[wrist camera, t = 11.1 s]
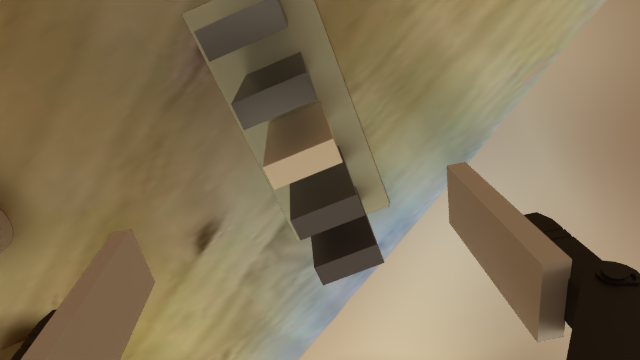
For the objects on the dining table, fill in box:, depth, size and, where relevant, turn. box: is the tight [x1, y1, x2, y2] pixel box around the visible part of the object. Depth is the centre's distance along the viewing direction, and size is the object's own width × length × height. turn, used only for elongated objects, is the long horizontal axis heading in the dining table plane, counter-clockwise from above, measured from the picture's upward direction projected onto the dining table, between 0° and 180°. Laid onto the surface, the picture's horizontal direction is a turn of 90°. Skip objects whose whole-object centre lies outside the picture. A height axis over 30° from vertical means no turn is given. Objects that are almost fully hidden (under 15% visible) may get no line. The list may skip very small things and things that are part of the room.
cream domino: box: [263, 102, 343, 190], centre depth 31 cm, size 2×5×10 cm, turn 112°
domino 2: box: [231, 52, 318, 130], centre depth 29 cm, size 2×5×10 cm, turn 112°
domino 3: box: [290, 146, 365, 240], centre depth 33 cm, size 2×5×10 cm, turn 112°
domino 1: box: [194, 0, 288, 62], centre depth 27 cm, size 2×5×10 cm, turn 112°
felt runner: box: [182, 0, 390, 241], centre depth 35 cm, size 23×10×1 cm, turn 22°
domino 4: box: [311, 186, 384, 285], centre depth 34 cm, size 2×5×10 cm, turn 112°
